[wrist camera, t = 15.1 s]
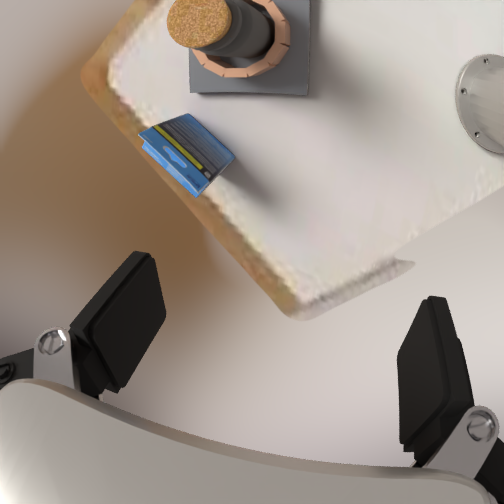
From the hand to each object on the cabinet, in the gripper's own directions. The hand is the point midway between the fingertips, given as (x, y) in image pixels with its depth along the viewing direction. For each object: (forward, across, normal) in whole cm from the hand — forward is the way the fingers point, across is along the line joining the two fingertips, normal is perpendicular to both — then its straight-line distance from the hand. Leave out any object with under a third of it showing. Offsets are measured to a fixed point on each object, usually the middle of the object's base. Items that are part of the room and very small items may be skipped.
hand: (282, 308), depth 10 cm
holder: (+30, +9, -11) cm, 33 cm away
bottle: (+29, +8, -11) cm, 32 cm away
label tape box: (+31, +15, +3) cm, 34 cm away
